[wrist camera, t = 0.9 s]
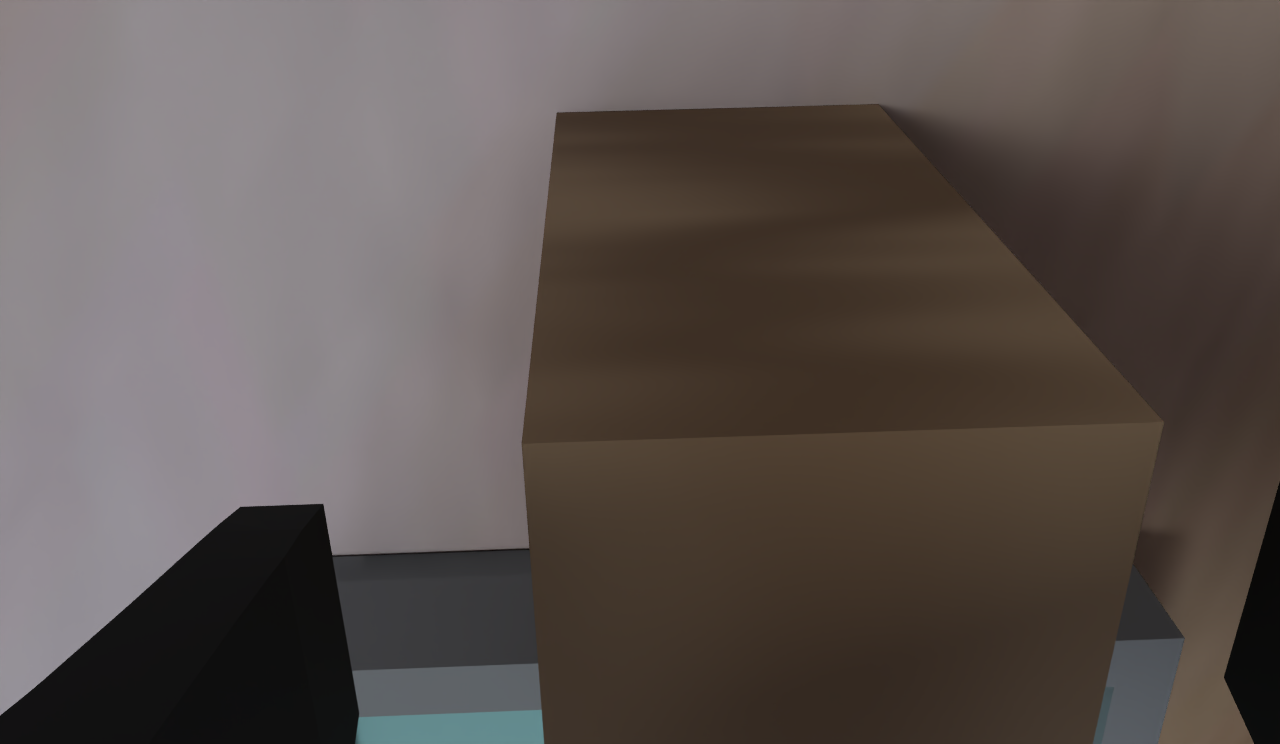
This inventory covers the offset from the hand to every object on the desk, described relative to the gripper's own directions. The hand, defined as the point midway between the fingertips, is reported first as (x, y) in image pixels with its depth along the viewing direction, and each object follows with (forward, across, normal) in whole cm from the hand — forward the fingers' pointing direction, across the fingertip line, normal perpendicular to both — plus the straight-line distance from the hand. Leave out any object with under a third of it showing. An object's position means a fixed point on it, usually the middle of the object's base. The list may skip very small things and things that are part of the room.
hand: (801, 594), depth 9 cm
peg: (+7, 0, 0) cm, 7 cm away
